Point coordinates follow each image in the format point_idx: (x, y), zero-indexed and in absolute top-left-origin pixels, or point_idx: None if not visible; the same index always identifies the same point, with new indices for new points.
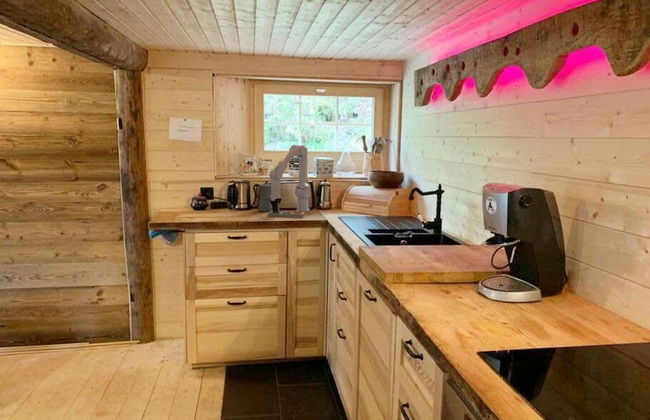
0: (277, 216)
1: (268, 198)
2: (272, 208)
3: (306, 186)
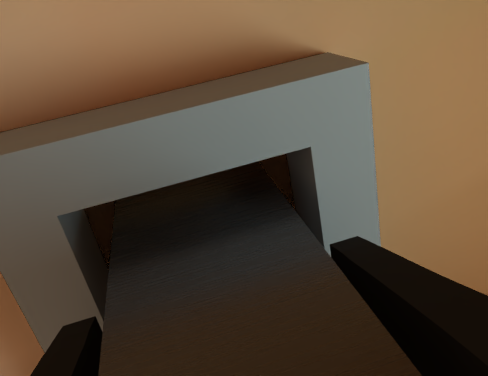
0: None
1: None
2: (102, 335)
3: None
